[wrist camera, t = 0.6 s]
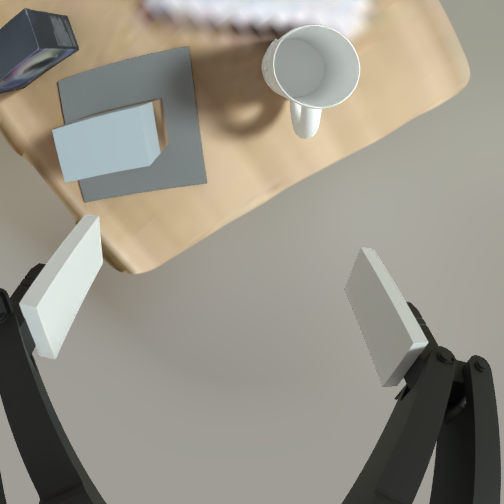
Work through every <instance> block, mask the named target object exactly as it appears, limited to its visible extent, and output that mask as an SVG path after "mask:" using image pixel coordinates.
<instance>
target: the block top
mask: <svg viewBox="0 0 504 504" xmlns="http://www.w3.org/2000/svg"><path fill="white" fill-rule="evenodd" d="M52 132H53V137H54V141H55V145H56V150H57V154H58V158H59V162H60V166H61V170H62V173H63V177H64V181H65V183H67V182H72V181H76V180H80V179H85V178H89V177H94V176H99V175H104V174H108V173H113V172H119V171H124V170H129V169H135V168H140V167H146V166H150V165H151V164H152V163H153V162H154V160H155V159H156V158H157V157H158V156H159V155H160V153H161V152H160V147H159V141H158V135H157V129H156V123H155V117H154V111H153V104H152V102H148V103H143V104H138V105H134V106H129V107H125V108H121V109H117V110H113V111H109V112H105V113H101V114H97V115H94V116H90V117H87V118H83V119H80V120H76V121H73V122H70V123H68V124H66V125H63V126H61V127H58V128H56V129H54V130H52Z"/></svg>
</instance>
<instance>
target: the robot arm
mask: <svg viewBox="0 0 504 504" xmlns="http://www.w3.org/2000/svg"><path fill="white" fill-rule="evenodd" d="M102 263H103V258H102V248H101V237H100V224H99V216H94V215H84V217H83V218H82V219H81V220H80V221H79V223H78V224H77V225H76V227H75V228H74V229H73V230H72V231H71V233H70V234H69V235H68V236H67V238H66V239H65V240H64V241H63V243H62V244H61V245H60V247H59V248H58V249H57V250H56V252H55V253H54V254H53V256H52V257H51V258H50V260H49V261H48V263H47V264H40V263H39V264H38V265H36V266H35V267H33V268H32V269H31V270H30V271H29V272H28V274H27V275H26V276H25V279H23V280H22V282H21V283H20V285H19V286H18V287H17V289H16V290H15V292H14V293H13V295H12V296H11V297H10V299H9V296H8V293H7V292H6V291H5V290H4V289H2V288H0V395H1V398H2V402H3V405H4V409H5V412H6V415H7V418H8V422H9V425H10V427H11V430H12V433H13V436H14V439H15V441H16V444H17V447H18V449H19V452H20V454H21V457H22V459H23V462H24V464H25V466H26V469H27V471H28V473H29V475H30V478H31V480H32V482H33V484H34V486H35V488H36V490H37V492H38V495H39V497H40V502H39V504H106V502H105V501H104V500H103V498H102V497H101V495H100V494H99V492H98V490H97V489H96V487H95V486H94V484H93V482H92V481H91V479H90V478H89V476H88V474H87V473H86V471H85V469H84V468H83V466H82V464H81V462H80V460H79V458H78V457H77V455H76V453H75V451H74V449H73V447H72V445H71V444H70V442H69V440H68V438H67V436H66V434H65V432H64V430H63V428H62V425H61V423H60V421H59V419H58V417H57V415H56V413H55V410H54V408H53V406H52V404H51V401H50V399H49V397H48V394H47V392H46V389H45V387H44V384H43V382H42V379H41V376H40V374H39V371H38V368H37V366H36V363H35V360H34V357H33V355H32V352H33V350H34V348H35V346H36V348H37V351H38V353H39V355H40V356H43V357H47V358H50V359H54V360H56V358H57V355H58V353H59V350H60V348H61V346H62V344H63V342H64V339H65V337H66V335H67V333H68V330H69V329H70V326H71V324H72V322H73V320H74V318H75V316H76V314H77V312H78V310H79V308H80V306H81V304H82V302H83V300H84V298H85V296H86V294H87V292H88V290H89V288H90V286H91V284H92V282H93V280H94V279H95V276H96V275H97V273H98V271H99V269H100V267H101V266H102ZM345 292H346V294H347V297H348V299H349V302H350V304H351V306H352V309H353V311H354V314H355V316H356V319H357V321H358V323H359V326H360V329H361V331H362V334H363V336H364V339H365V342H366V344H367V347H368V349H369V352H370V355H371V357H372V360H373V363H374V365H375V368H376V371H377V374H378V376H379V379H380V382H381V384H382V387H390V386H397V385H398V384H399V383H400V381H401V380H402V379H403V377H404V379H405V381H406V383H407V384H406V385H405V386H404V388H403V389H402V390H401V392H400V393H399V394H398V395H397V396H396V398H395V399H396V400H397V399H398V401H397V403H396V405H395V408H394V410H393V412H392V414H391V416H390V418H389V420H388V422H387V424H386V426H385V428H384V430H383V433H382V434H381V436H380V438H379V440H378V442H377V444H376V446H375V448H374V450H373V452H372V454H371V456H370V457H369V459H368V461H367V463H366V464H365V466H364V468H363V470H362V472H361V473H360V475H359V477H358V478H357V480H356V482H355V483H354V485H353V487H352V488H351V490H350V492H349V493H348V495H347V496H346V498H345V499H344V501H343V502H342V504H412V503H413V501H414V498H415V496H416V494H417V491H418V489H419V487H420V484H421V482H422V479H423V477H424V474H425V472H426V469H427V466H428V464H429V461H430V458H431V456H432V453H433V450H434V447H435V444H436V441H437V446H436V458H435V467H434V476H433V484H432V491H431V497H430V503H429V504H500V487H501V463H500V462H501V461H500V438H499V425H498V414H497V406H496V399H495V390H494V384H493V378H492V372H491V368H490V365H489V364H488V362H487V361H486V360H485V359H484V358H482V357H480V356H477V355H474V356H472V357H471V358H470V359H469V360H468V362H467V363H466V362H462V361H458V360H456V359H455V357H454V355H453V354H452V352H451V351H449V350H448V349H447V348H444V347H442V346H438V344H437V343H436V341H435V339H434V337H433V335H432V334H431V332H430V330H429V328H428V327H427V326H426V323H425V321H424V320H423V319H422V316H421V315H420V313H419V311H418V310H417V309H416V308H415V307H414V306H413V305H412V304H411V303H410V302H406V301H405V299H404V298H403V296H402V294H401V293H400V291H399V289H398V288H397V286H396V284H395V283H394V281H393V279H392V278H391V276H390V275H389V273H388V271H387V270H386V268H385V266H384V265H383V263H382V262H381V260H380V258H379V257H378V255H377V254H376V252H375V251H374V249H370V248H363V247H361V248H360V251H359V253H358V256H357V259H356V261H355V264H354V267H353V269H352V271H351V274H350V277H349V279H348V282H347V284H346V287H345ZM465 402H466V404H465ZM0 504H6V499H5V495H4V490H3V484H2V479H1V473H0Z"/></svg>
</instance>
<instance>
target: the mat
mask: <svg viewBox="0 0 504 504" xmlns="http://www.w3.org/2000/svg"><path fill="white" fill-rule="evenodd" d="M58 85H59V91H60V97H61V103H62V108H63V114H64V119H65V124H68V123H70V122H73V121H75V120H78V119H81V118H83V117H86V116H88V115H91V114H95V113H99V112H102V111H106V110H110V109H114V108H118V107H122V106H127V105H131V104H135V103H140V102H145V101H149V100H154V99H160V98H162V101H163V108H164V115H165V121H166V127H167V134H168V140H169V144H168V145H167V147H166V148H165V149H164V150H163V151H162V152H161V153H160V155H159V156H158V157H157V158H156V159H155V160H154V162H153V163H152V164H151V165H150V166H146V167H140V168H135V169H129V170H124V171H119V172H113V173H108V174H104V175H99V176H94V177H89V178H85V179H80V180H79V183H80V187H81V190H82V194H83V197H84V201H85V202H90V201H95V200H101V199H106V198H112V197H118V196H123V195H129V194H136V193H142V192H148V191H155V190H162V189H169V188H176V187H183V186H191V185H198V184H206V183H207V179H206V172H205V165H204V158H203V151H202V144H201V137H200V130H199V122H198V115H197V107H196V100H195V92H194V84H193V76H192V67H191V59H190V50H189V46H188V47H183V48H177V49H172V50H166V51H161V52H157V53H152V54H147V55H143V56H139V57H135V58H131V59H127V60H123V61H119V62H116V63H112V64H109V65H105V66H102V67H98V68H95V69H92V70H89V71H86V72H83V73H80V74H77V75H74V76H71V77H68V78H65V79H63V80H60V81H58Z"/></svg>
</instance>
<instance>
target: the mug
mask: <svg viewBox="0 0 504 504" xmlns="http://www.w3.org/2000/svg"><path fill="white" fill-rule="evenodd" d="M261 69H262V75H263V78H264V80H265V82H266V83H267V85H268V86H269V87H270V88H271V89H272V90H273V91H274V92H275V93H277V94H279V95H281V96H283V97H285V98H287V99H289V100H290V112H291V119H292V124H293V128H294V131H295V133H296V134H297V135H298V136H299V137H300V138H303V139H308V138H311V137H312V136H314V135H315V133H316V132H317V130H318V127H319V123H320V117H321V109H325V108H330V107H333V106H336V105H338V104H340V103H342V102H343V101H344V100H346V99H347V98H348V97H349V96H350V95H351V94H352V92H353V91H354V89H355V88H356V86H357V83H358V80H359V76H360V62H359V58H358V55H357V52H356V51H355V49H354V47H353V45H352V44H351V43H350V41H349V40H348V39H347V38H346V37H345V36H343V35H342V34H341V33H339V32H338V31H336V30H334V29H332V28H330V27H327V26H323V25H316V24H313V25H304V26H299V27H297V28H294V29H292V30H291V31H289V32H288V33H286V34H285V35H284V36H282V37H281V38H280V39H279V40H277V39H275V40H274V41H273V42H272V43H271V44H270V46H269V47H268V49H267V51H266V52H265V54H264V56H263V59H262V66H261Z"/></svg>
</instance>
